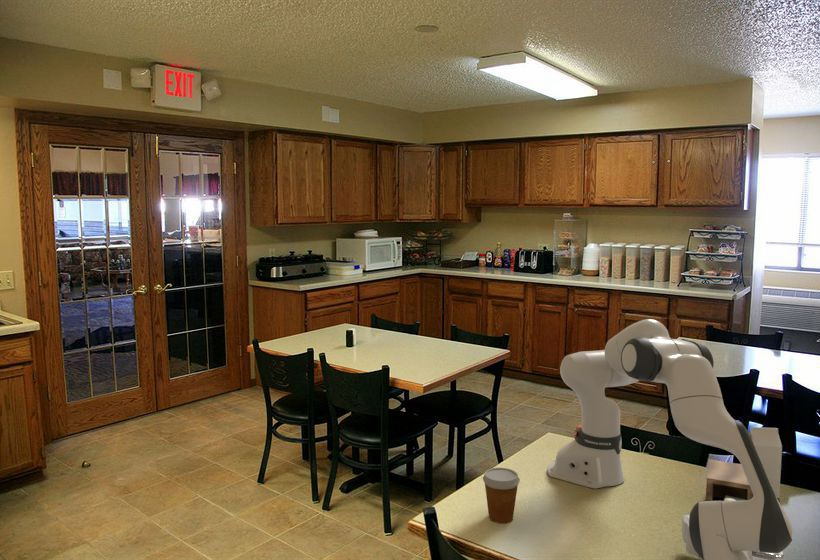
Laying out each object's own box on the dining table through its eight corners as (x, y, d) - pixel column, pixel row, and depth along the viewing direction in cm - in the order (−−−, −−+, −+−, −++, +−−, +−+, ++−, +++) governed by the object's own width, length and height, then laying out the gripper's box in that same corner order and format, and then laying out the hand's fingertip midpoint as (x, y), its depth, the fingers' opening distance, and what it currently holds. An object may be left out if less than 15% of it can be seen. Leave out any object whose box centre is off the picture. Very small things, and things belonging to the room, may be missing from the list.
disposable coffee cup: (496, 530, 155) (496, 484, 154) (475, 514, 164) (475, 471, 162) (526, 521, 160) (527, 477, 158) (504, 506, 168) (505, 464, 167)
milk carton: (779, 498, 171) (783, 432, 169) (751, 496, 173) (754, 431, 171) (769, 487, 178) (773, 424, 176) (743, 485, 180) (746, 422, 178)
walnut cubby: (705, 514, 162) (706, 477, 161) (707, 493, 175) (708, 459, 174) (752, 524, 157) (754, 486, 156) (751, 501, 170) (753, 466, 169)
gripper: (785, 545, 130) (781, 517, 142) (679, 524, 139) (684, 499, 151) (783, 574, 130) (779, 543, 142) (679, 550, 140) (683, 523, 152)
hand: (729, 520), depth 147 cm, fingers closed on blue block, 3 cm apart
